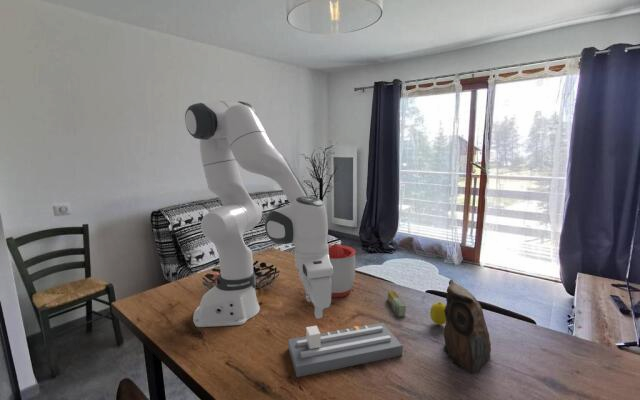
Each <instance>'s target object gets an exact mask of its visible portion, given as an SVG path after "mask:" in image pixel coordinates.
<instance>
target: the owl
mask: <svg viewBox="0 0 640 400" xmlns="http://www.w3.org/2000/svg"><path fill="white" fill-rule="evenodd" d="M446 292H447V293H446V297H445V298H446V299H445V300H446V304H445V306H446V307H445V310H444V312H445V316H446V323H445V324H444V328H443V339H444V344H445V345H444V348H443V351H444V352H445V353H446V354H447V357H448V359H450V360H451V361H452V364H453V365H455V366H456V367H457V368H459V369H462V370H464V371H466V372H468V373H469V374H471V375H474V374H477V373H478V372H479V370H480V369H482V367H483V366H484V364H485V363H488V361H489V359H490V358H491V352H492V347H491V345H492V343H491V340H490V338H491V337H490V333H489V329H488V326H487V323H486V320H485V315H484V312H483V308H482V306H481V304H480V302H479V301H478V300H477V298H476V297H475V295H473V294H472V293H471V292H470V291H469V290H468V289H467V288H465V287H464V286H462V285H461V284H458V283H457V282H456V281H454V280H453V279H450V280H449V281H448V286H447V288H446Z"/></svg>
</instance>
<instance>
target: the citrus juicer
mask: <svg viewBox="0 0 640 400" xmlns="http://www.w3.org/2000/svg"><path fill="white" fill-rule="evenodd" d="M328 247H329V259H330V262H331V265H332V267H333V275H332V276H330V277H331V283H332V289H331V298H340V297H345V296H348V295H349V294H351V292H352V289H353V285H354V282H355V276H356V253H357V251H356V250H355V248H353V247H351V246H348V245H343V244H342V245H341V244H338V243H334V244H328Z"/></svg>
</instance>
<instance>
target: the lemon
mask: <svg viewBox="0 0 640 400" xmlns="http://www.w3.org/2000/svg"><path fill="white" fill-rule="evenodd" d="M445 307H446V304H444V303H443V302H441V301H438V302H435V303H433V304H432V305H431V307H430V312H429V316H430V319H431V321H432V322H433V323H434V324H436V326H441V325H442V326H443V325H446V316H445V312H444V310H445Z"/></svg>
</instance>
